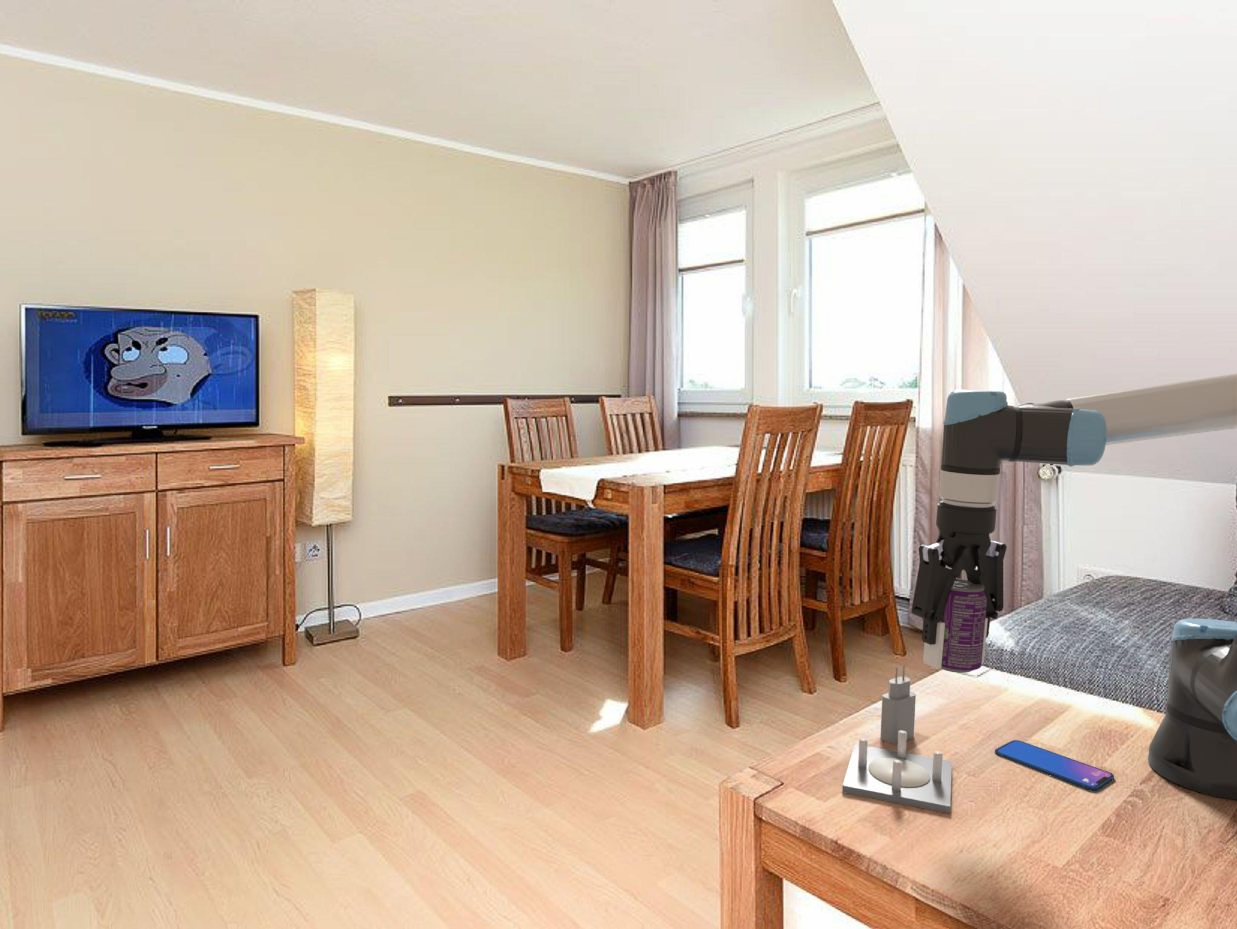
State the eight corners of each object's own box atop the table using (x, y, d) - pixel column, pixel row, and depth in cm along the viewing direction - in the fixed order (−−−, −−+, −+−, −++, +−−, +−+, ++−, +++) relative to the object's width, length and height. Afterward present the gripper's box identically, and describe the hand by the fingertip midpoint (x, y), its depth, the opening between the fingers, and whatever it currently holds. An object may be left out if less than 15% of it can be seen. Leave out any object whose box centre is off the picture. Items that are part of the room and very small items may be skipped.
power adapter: (878, 737, 131) (881, 666, 129) (899, 729, 134) (902, 659, 132) (894, 745, 128) (898, 672, 127) (915, 736, 131) (919, 665, 130)
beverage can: (940, 654, 119) (947, 574, 118) (989, 668, 114) (996, 585, 112) (917, 664, 114) (923, 582, 113) (967, 680, 109) (974, 593, 108)
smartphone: (1015, 738, 130) (1117, 774, 118) (1015, 743, 130) (1116, 780, 118) (991, 750, 126) (1094, 789, 114) (991, 756, 126) (1094, 795, 114)
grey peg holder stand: (951, 767, 121) (953, 735, 120) (949, 813, 108) (951, 778, 108) (854, 749, 126) (856, 719, 126) (842, 792, 114) (843, 758, 113)
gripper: (999, 496, 118) (986, 647, 121) (890, 500, 111) (878, 660, 114) (1043, 504, 112) (1028, 664, 114) (930, 509, 104) (916, 680, 107)
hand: (953, 662), depth 114 cm, fingers closed on beverage can, 7 cm apart
